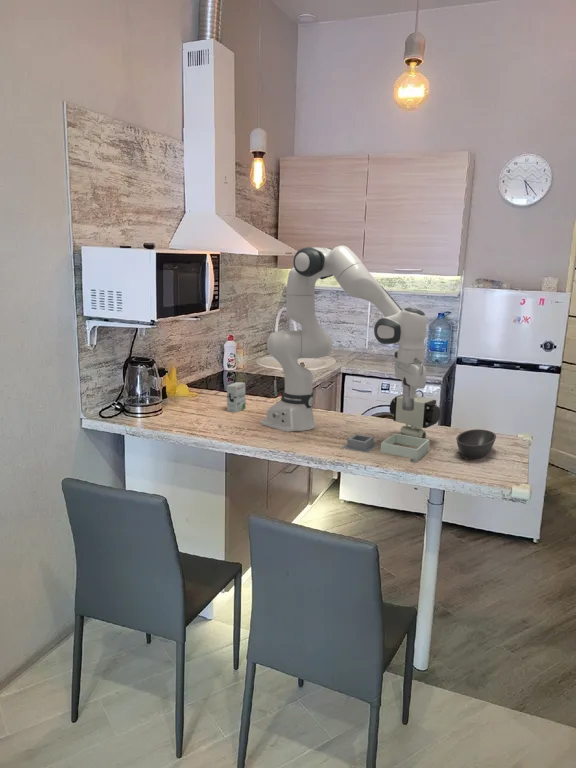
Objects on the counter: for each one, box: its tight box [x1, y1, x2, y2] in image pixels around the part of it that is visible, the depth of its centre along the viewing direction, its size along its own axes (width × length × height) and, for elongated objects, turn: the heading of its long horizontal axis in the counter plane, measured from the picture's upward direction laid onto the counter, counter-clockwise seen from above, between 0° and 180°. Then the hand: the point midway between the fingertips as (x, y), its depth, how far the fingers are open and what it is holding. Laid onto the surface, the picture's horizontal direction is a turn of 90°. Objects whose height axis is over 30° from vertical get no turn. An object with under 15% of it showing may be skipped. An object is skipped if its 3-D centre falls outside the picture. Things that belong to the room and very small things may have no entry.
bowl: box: [456, 428, 497, 461], centre depth 206 cm, size 12×22×6 cm, turn 145°
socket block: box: [342, 433, 379, 454], centre depth 209 cm, size 10×10×4 cm
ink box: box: [226, 381, 246, 414], centre depth 257 cm, size 9×5×12 cm, turn 155°
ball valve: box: [389, 393, 441, 439], centre depth 220 cm, size 18×8×18 cm, turn 48°
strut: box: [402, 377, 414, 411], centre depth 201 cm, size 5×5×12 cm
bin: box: [380, 433, 430, 463], centre depth 205 cm, size 13×13×4 cm
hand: (408, 395), depth 201 cm, fingers closed on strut, 4 cm apart
